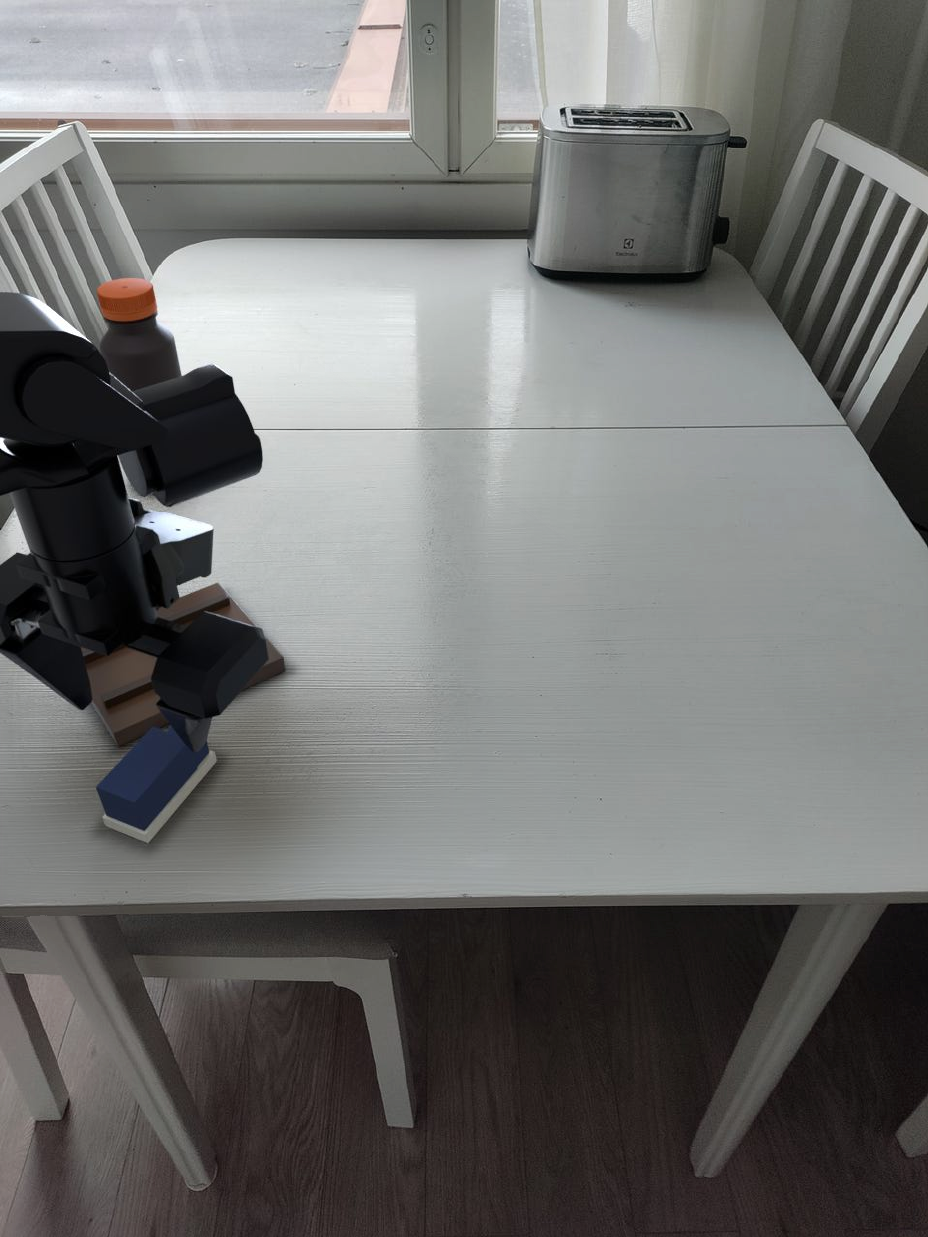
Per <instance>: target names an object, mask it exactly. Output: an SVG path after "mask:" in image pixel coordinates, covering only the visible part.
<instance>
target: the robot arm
mask: <svg viewBox="0 0 928 1237" xmlns="http://www.w3.org/2000/svg"><path fill="white" fill-rule="evenodd" d="M263 461H264V456H263V446H262V441H261V438H260V436H259V435H258V434H257V433H256V432H255V428H254V426H253V424H252V421H251V418H250V416H249V414H248V412H247V410H246V408H245V406H244V404H243V403H242V400H240V398H239V397H238V395H237V394H236V391H235V383H234V379H233V376H232V375H230V374H229V373H228V372H226V371H225V370H224V369H222V368H221V367H220V366H218V365H217V364H215V363H209V364H206V365H203V366H199V367H196V368H195V369H192V370H191V371H188V372H187V373H186V374H184V375H182V376H181V377H178V378H175V379H171V380H168V381H165V382H162V383H158V384H155V385H152V386H148V387H145V388H142V389H139V390H135V391H130V390H129V389H128V388H127V387H126V386H125V385H123V384H122V383H121V382H120V381H119V380H118V379H116V378H115V377H114V376H113V375H112V374H111V373H109V370H108V367H107V364H106V360H105V359H104V358H103V356H102V355H101V351H100V350H99V349H98V348H97V347H96V345H95V344H94V343H93V342H91V340H89V339H88V338H87V337H86V336H84V335H83V334H82V333H80V331H78V330H77V329H76V328H75V327H73V326H72V325H71V324H70V323H69V322H68V321H66V320H65V319H64V318H63V317H62V316H61V315H59V314H58V313H57V312H56V311H55V310H53V309H52V308H51V307H50V306H48V305H47V304H45V303H44V302H43V301H41V300H39V299H38V298H36V297H33V296H30V295H27V294H25V293H20V292H13V291H11V292H9V291H0V497H1V496H2V497H3V496H6V495H8V494H9V496H10V499H11V502H12V504H13V508H14V510H15V513H16V516H17V519H18V521H19V524H20V527H21V530H22V533H23V536H24V538H25V541H26V544H27V547H28V550H29V552H30V553H22V552H18V551H16V553H13V555H11V556H9V558H7V559H6V560H5V561H3V562H2V563H0V654H1V655H2V656H4V657H5V658H7V659H8V660H9V661H10V662H12V663H14V664H15V665H17V666H18V667H20V668H21V669H22V670H24V671H25V672H27V673H28V674H29V675H31V676H32V677H34V678H35V679H36V680H37V681H39V682H41V683H42V684H43V685H45V687H48V688H49V689H50V690H51V691H53V692H54V693H56V694H57V695H58V696H59V697H60V698H62V699H64V700H65V701H66V702H67V703H69V704H70V705H71V706H73V707H74V708H76V709H77V710H79V711H85V709H87V707H89V706H90V705H91V702H92V692H91V685H90V680H89V676H88V673H87V669H86V665H85V661H84V657H83V653H82V650H81V647H82V648H85V649H88V650H91V651H94V652H97V653H100V654H103V655H105V656H109V655H110V654H111V653H112V652H113V651H115V650H116V649H117V648H118V647H119V646H123V647H126V648H129V649H132V650H135V651H138V652H141V653H144V654H147V655H150V656H153V657H156V658H157V660H156V663H155V666H154V670H153V673H152V676H151V681H152V685H153V688H154V692H155V693H156V694H157V695H158V696H159V697H160V698H161V699H160V700H159V701H158V702H157V703H156V706H157V708H158V709H159V710H160V712H161V713H162V714H163V716H164V717H165V718H166V720H167V721H168V722H169V724H168V725H170V727H171V726H172V728H173V729H174V730H175V732H176V733H177V734H178V736H179V737H180V738H181V740H182V741H183V742H184V743H185V745H186V746H187V747H188V748H189V749H190V750H191V751H193V752H195V753H197V752H198V751H199V750H200V749H201V748H202V747H203V745H204V744H205V743H206V741H207V740H208V736H209V732H210V729H211V726H212V722H213V718H215V717H218V716H221V715H222V714H223V712H224V711H225V710H226V709H227V708H228V707H229V706H230V705H231V703H232V702H233V701H234V700H235V699H236V697H238V695H239V694H240V693H241V692H242V691H244V690H243V688H244V687H245V686H246V685H247V684H248V683H249V682H250V680H251V679H252V678H253V677H254V676H255V675H256V674H257V673H258V671H259V670H260V669H261V668H262V667H263V666H264V665H265V663H266V662H267V661H268V660H269V657H268V651H267V645H266V640H265V636H266V635H265V633H264V630H263V628H261V627H258V626H257V625H256V626H257V627H256V626H253V625H249V624H246V623H243V622H240V621H237V620H233V619H230V618H227V617H224V616H221V615H218V614H214V613H210V612H206V611H203V612H202V613H201V614H200V615H199V616H198V617H197V618H196V619H195V620H194V621H193V622H192V623H191V624H190V625H189V626H188V627H187V626H184V625H181V624H178V623H175V622H172V621H169V620H166V619H163V618H159V617H157V611H158V610H159V609H160V608H161V607H163V608H166V609H168V608H169V607H170V606H171V605H173V604H174V603H175V602H176V601H177V600H178V599H179V598H180V597H181V596H180V592H179V589H178V586H180V585H184V584H186V583H188V582H191V581H193V580H195V579H198V578H200V577H201V578H207V577H209V576H211V575H212V569H213V568H212V567H213V552H214V551H213V550H214V549H213V548H214V529H215V528H214V526H213V525H211V524H209V523H206V522H203V521H199V520H196V519H192V518H189V517H185V516H181V515H178V514H174V513H171V512H166V511H156V510H151V509H148V508H144V506H143V504H142V502H141V501H140V500H139V499H136V498H133V497H130V496H129V495H128V491H127V487H126V483H125V479H124V475H125V476H126V478H127V480H128V482H129V484H130V486H131V487H132V488H133V489H134V491H135V492H136V493H137V495H139V496H140V497H142V498H146V497H149V496H152V495H153V496H154V498H156V501H158V502H159V503H160V504H161V505H162V506H164V507H166V508H172V507H174V506H177V505H179V504H183V503H185V502H187V501H191V500H193V499H196V498H198V497H201V496H204V495H206V494H209V493H212V492H215V491H217V490H219V489H222V488H225V487H228V486H231V485H233V484H236V483H238V482H241V481H244V480H246V479H249V478H252V477H254V476H256V475H258V474H259V473H260V472H261V470H262V468H263ZM121 467H122V468H121ZM122 470H123V472H124V475H123V472H122ZM264 635H265V636H264ZM207 742H208V741H207Z"/></svg>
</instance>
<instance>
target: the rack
mask: <svg viewBox="0 0 928 1237" xmlns="http://www.w3.org/2000/svg"><path fill="white" fill-rule="evenodd" d="M179 597H180V598H179V599H178V600H177V601H176V602H175V603H174V604H173V605H171V606H170V607H169V608H168V609H166V608H163V607H161V608H160V609H159V610H158V611H157V617H159V618H163V619H166V620H169V621H172V622H175V623H178V624H181V625H184V626H187V627H188V626H189V625H190V624H191V623H192V622H193V621H194V620H195V619H196V618H197V617H198V616H199V615H200V614H201V613H202V612H203V611H206V612H210V613H214V614H218V615H221V616H224V617H227V618H230V619H233V620H237V621H240V622H243V623H246V624H249V625H253V626H256V627H258V626H257V624H256V623H255V622H254V621H253V620H252V619H251V618H250V617H249V616H248V614H247V613H246V612H245V611H244V609H242V608H241V606H240V605H239V604H238V603H237V602H236V601H235V599H234V598H233V597H232V596H231V595H230V594H229V592H228V591H227V590H226V589H225V588H224V587H223V586H222V585H221V584H220V582H219V581H218V582H215V583H213V584H210V585H208V586H205V587H203V588H200V589H197V590H195V591H192V592H190V593H188V594H185V595H182V596H179ZM264 636H265V640H266V645H267V651H268V657H269V660H268V661H267V662H266V663H265V665H264V666H263V667H262V668H261V669H260V670H259V671H258V673H257V674H256V675H255V676H254V677H253V678H252V679H251V680H250V682H249V683H248V684H247V685H246V686H245V687H244V688H243V690H242V691H244V690H246V689H248V688H251V687H253V686H255V685H257V684H259V683H262V682H264V681H266V680H268V679H271V678H272V677H275V676H277V675H280V674H281V673H283V672H286V670H287V669H286V663H285V658H284V655H282V653H281V652H280V651H279V650H278V649H277V648H276V647H275V645H274V644H273V643H272V642H271V641H270V640H269V638H267V636H266V635H265V634H264ZM81 650H82V653H83V657H84V661H85V665H86V669H87V673H88V676H89V680H90V685H91V692H92V702H91V703H90V705H91V706H92V707H93V709H94V710H95V712H96V714H97V715H98V717H99V719H100V720H101V722H102V724H103V725H104V727H105V728H106V730H107V732H108V734H109V735H110V737H111V738H112V739H113V741H114V743H115V745H116V747H121V746H123V745H125V744H128V743H129V742H132V741H134V740H136V739H138V738H140V737H141V738H142V737H143V736H144V735H145V734H146V733H147V732H148V731H149V730H150V729H151V728H152V727H156V728H159V729H161V728H162V727H165V726H167V725H170V724H169V722H168V721H167V720H166V718H165V717H164V716H163V714H162V713H161V712H160V710H159V709H158V708H157V706H156V703H157V702H158V701H159V700H160V699H161V698H160V697H159V696H158V695H157V694H156V693H155V692H154V688H153V685H152V681H151V676H152V673H153V670H154V666H155V663H156V660H157V658H156V657H153V656H150V655H147V654H144V653H141V652H138V651H135V650H132V649H129V648H126V647H123V646H119V647H118V648H117V649H116V650H115V651H113V652H112V653H111V654H110V655H109V656H105V655H103V654H100V653H97V652H94V651H91V650H88V649H85V648H82V647H81Z"/></svg>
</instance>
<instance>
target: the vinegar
mask: <svg viewBox="0 0 928 1237" xmlns="http://www.w3.org/2000/svg"><path fill="white" fill-rule="evenodd" d="M96 295H97V299H98V303H99V307H100V311H101V315H102V316H103V320H104V322H106V323H107V324H108V329H107V330H106V332H105V333H104V335H103V336H102V337H101V339H100V343H99V352H100V354H101V355H102V356H103V358H104V359H105V360H106V364H107V367H108V370H109V373H111V374H112V375H113V376H114V377H115V378H116V379H118V380H119V381H120V382H121V383H122V384H123V385H125V386H126V387H127V388H128V389H129V390H130V391H135V390H139V389H142V388H145V387H148V386H152V385H155V384H158V383H162V382H165V381H168V380H171V379H175V378H178V377H181V376H183V375H182V370H181V366H180V361H179V360H180V359H179V355H178V351H177V346H176V340H175V336H174V335H173V333H172V332H171V331H170V330H169V329H168V328H167V327H165V326H164V325H163V324H161V323H160V322H158V320H157V316H158V303H157V299H156V295H155V290H154V285H153V283H152V282H151V281H149V280H147V279H144V278H139V277H124V278H116V279H112V280H109V281H106V282H104V283H102V284H101V285H99V286H98V287H97V289H96Z"/></svg>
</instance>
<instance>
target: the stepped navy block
mask: <svg viewBox="0 0 928 1237" xmlns="http://www.w3.org/2000/svg"><path fill="white" fill-rule="evenodd" d="M217 761H218V760H217V755H216V751H213V750H210V747H209V745H208V741H206V743H205V744H204V745H203V747H202V748H201V749H200V750H199V751H198V752H197V753H195V752H193V751H191V750H190V749H189V748H188V747H187V746H186V745H185V743H184V742H183V741H182V740H181V738H180V737H179V736H178V734H177V733H176V732H175V730H174V729H173V728H172V726H171V725H170V727H169V728H167V730H164V729H161V728H156V727H152V728H151V729H150V730H149V731H148V732H147V733H146V734H145V735H143V736H141V738H140V739H139V740H138V741H137V742H136V743H135V744H134V746H132V748H130V750H129V751H128V752H127V753H126V754H125V755H124V756H123V757H122V758H121V759H120V760H119V761H118V762H117V764H116V765H115V766H114V767H113V768H111V770H110V771H109V772H108V773H107V774H106V775H105V777H103V779H101V781H100V782H99V783H98V784H97V785H96V786H95V790H96V792H97V795H98V797H99V800H100V803H101V806H102V807H103V810H104V814H103V816H102V820H103V823H104V826H105V827H107V828H109V829H112V830H115V831H117V832H119V833H122V834H124V835H126V836H129V837H131V838H133V839H136V840H138V841H141V842H143V843H145V844H149V843H150V842H151V841H152V840H153V838H154V837H155V836H156V835H157V834H158V832H159V831H160V830H161V829H162V828H163V826H164V825H165V824H166V822H167V821H168V820H169V819H170V818H172V816H173V814H174V813H175V812H176V811H177V809H179V808H180V806H181V805H182V803H183V802H184V801H185V800H186V799H187V798H188V796H189V795H190V794H191V793H192V792H193V790H194V789H195V788H196V787H197V785H198V784H200V782H201V781H202V780H203V778H204V777H205V776H206V775H207V774H208V773H209V771H211V769H212V768H213V766H214V765H216V763H217Z"/></svg>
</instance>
